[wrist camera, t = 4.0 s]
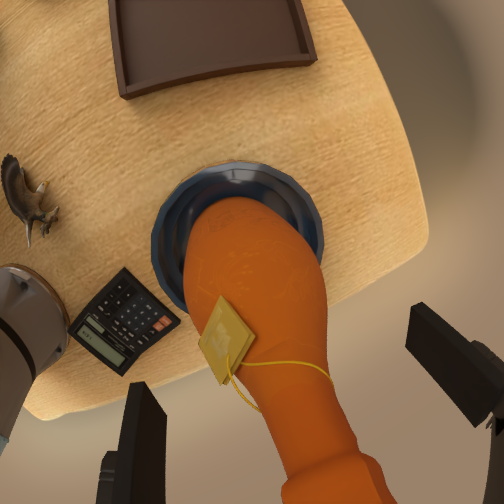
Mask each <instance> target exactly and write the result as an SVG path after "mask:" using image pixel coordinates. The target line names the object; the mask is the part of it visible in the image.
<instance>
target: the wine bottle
mask: <svg viewBox="0 0 504 504" xmlns="http://www.w3.org/2000/svg"><path fill="white" fill-rule="evenodd" d="M183 288H184V296H185V301H186V305H187V309H188V312H189V314H190V317H191V319H192V321H193V323H194V325H195V327H196V329H197V331H198V333H199V334H200V336H201V338H200V340H199V343H198V344H199V346H200V348H201V350H202V352H203V354H204V356H205V358H206V360H207V362H208V364H209V365H210V367H211V369H212V371H213V373H214V375H215V377H216V379H217V380H218V382H219V384H220V385H222V384H224V385H227V384H228V382H229V381H230V379H231V381H232V383H233V385H234V387H235V389H236V390H237V391H238V393H239V394H240V396H241V397H242V398H243V399H244V400H245V401H246V402H247V403H248V404H249V405H251V406H252V407H253V408H255V409H256V410H257V411H259V412H260V413H262V415H263V417H264V419H265V421H266V424H267V426H268V429H269V431H270V433H271V436H272V438H273V441H274V443H275V445H276V448H277V450H278V453H279V455H280V458H281V460H282V463H283V466H284V469H285V471H286V475H287V478H288V480H287V481H286V482H285V483H284V485H283V486H282V490H281V497H282V502H283V504H397V502H396V501H395V499H394V498H393V496H392V495H391V493H390V491H389V489H388V488H387V485H386V482H385V478H384V475H383V471H382V468H381V466H380V465H379V464H378V462H377V461H376V460H375V459H374V458H373V457H371V456H368V455H366V454H364V453H361V452H360V451H359V448H358V445H357V438H356V436H355V434H354V433H353V431H352V429H351V427H350V425H349V423H348V421H347V419H346V416H345V414H344V412H343V410H342V408H341V406H340V404H339V402H338V400H337V397H336V394H335V389H334V385H333V382H332V380H331V378H330V374H329V369H328V362H327V295H326V288H325V283H324V279H323V275H322V271H321V268H320V265H319V263H318V260H317V258H316V256H315V254H314V252H313V251H312V249H311V247H310V246H309V245H308V243H307V242H306V241H305V239H304V238H303V237H302V236H301V235H300V234H299V233H298V232H297V231H296V230H295V229H294V228H293V227H292V226H291V225H290V224H289V223H288V222H287V221H285V220H284V219H283V218H282V217H281V216H279V215H278V214H277V213H275V212H274V211H273V210H271V209H270V208H269V207H267V206H266V205H264V204H262V203H261V202H259V201H257V200H254V199H251V198H248V197H242V196H232V197H226V198H222V199H220V200H217V201H215V202H213V203H212V204H210V205H209V206H208V207H206V208H205V209H204V210H203V211H202V212H201V213H200V215H199V216H198V217H197V219H196V221H195V223H194V225H193V227H192V230H191V233H190V237H189V241H188V246H187V251H186V257H185V264H184V275H183ZM233 374H234V375H235V376H236V377H237V378H238V379H239V380H240V382H241V383H242V384H243V385H244V386H245V387H246V388H247V390H248V391H249V393H250V395H251V396H252V397H253V398H254V400H255V402H256V403H257V405H258V407H259V409H258V408H257V407H255V406H254V405H253V404H252V403H250V402H249V401H248V400H247V399H246V398H245V397H244V395H243V394H242V393H241V392H240V391H239V389H238V387H237V386H236V384H235V382H234V380H233V378H232V376H233Z"/></svg>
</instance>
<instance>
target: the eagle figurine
mask: <svg viewBox="0 0 504 504" xmlns="http://www.w3.org/2000/svg"><path fill="white" fill-rule="evenodd" d="M1 181H2V186H3V190H4V192H5V196H6V199H7V201H8V204H9V206H10V208H11V210H12V212H13V213H14V214H15V215H16V216H18V217H19V218H20V220H21V221H22V222H23V223H25V228H26V233H27V240H28V246H29V248H30V247H31V230H32V225H33V221H34V220H39V221H42V222H45V223H44V224H43V225H42V226H41V228H40V230H41V234H42V237H43V238H44V231H45V230H46V234H49V229H50V227H51V225H52V223H53V222H56V221H58V219H57V218H56V215H57V213H58V210H59V207H58V206H56V207H55V208H54V210H53V211H52V212H49V213H47V212H45V211H42V210H41V209H40V205H41V203H42V199H43V194H44V191H45V189H46V186H47V185H48V183H49V181H46V182H43V183H42V184H40V186H39V187H38V189H37V190H36V192H35V193H32V192H30V191H29V190H28V188H27V187H26V184H25V181H24V170H23V167H22V168H20V166H19V163H18V160H17V158H16V157H13V156H12V155H9V153H8V154H7V156H6V157H4V160H3V161H2V165H1ZM46 228H47V229H46Z"/></svg>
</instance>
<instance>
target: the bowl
mask: <svg viewBox="0 0 504 504" xmlns="http://www.w3.org/2000/svg"><path fill="white" fill-rule="evenodd" d="M232 196H242V197H248V198H251V199H254V200H257V201H259V202H261V203H262V204H264V205H266V206H267V207H269V208H270V209H271V210H273V211H274V212H275V213H277V214H278V215H279V216H281V217H282V218H283V219H284V220H285V221H287V222H288V223H289V224H290V225H291V226H292V227H293V228H294V229H295V230H296V231H297V232H298V233H299V234H300V235H301V236H302V237H303V238H304V239H305V241H306V242H307V243H308V245H309V246H310V247H311V249H312V251H313V252H314V254H315V256H316V258H317V260H318V263H319V265H320V264H321V259H322V254H323V249H324V236H323V228H322V220H321V217H320V215H319V213H318V211H317V209H316V207H315V204H314V202H313V200H312V198H311V196H310V195H309V194H308V193H307V192H306V191H305V190H304V189H303V188H302V187H301V186H300V185H299V184H298V183H297V182H296V181H295V180H294V179H293V178H292V177H291V176H289V175H287V174H285V173H283V172H281V171H279V170H276V169H274V168H272V167H270V166H268V165H266V164H262V163H257V162H250V161H241V160H226V161H222V162H217V163H213V164H209V165H205V166H203V167H202V168H200V169H198V170H197V171H195V172H193V173H192V174H190V175H189V176H187V177H185V178H184V179H183V180H182V181H181V182H180V183H179V184H178V186H177V187H176V188H175V189H174V190H173V192H172V193H171V194H170V195H169V197H168V198H167V199H166V200H165V202H164V203H163V205H162V206H161V208H160V210H159V213H158V216H157V219H156V221H155V224H154V227H153V230H152V233H151V262H152V265H153V268H154V271H155V274H156V277H157V279H158V282H159V285H160V287H161V288H162V289H163V290H164V292H165V293H166V294H167V295H168V297H169V298H170V299H171V300H172V302H173V303H174V304H175V305H176V306H177V307H178V308H180V309H181V310H183V311H184V312H186V313H187V314H189V312H188V309H187V305H186V301H185V296H184V288H183V275H184V264H185V257H186V251H187V246H188V241H189V237H190V233H191V230H192V227H193V225H194V223H195V221H196V219H197V217H198V216H199V215H200V213H201V212H202V211H203V210H204V209H205V208H206V207H208V206H209V205H210V204H212V203H213V202H215V201H217V200H220V199H222V198H226V197H232ZM189 315H190V314H189Z"/></svg>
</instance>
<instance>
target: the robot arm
mask: <svg viewBox="0 0 504 504" xmlns="http://www.w3.org/2000/svg"><path fill="white" fill-rule="evenodd" d="M69 327H70V323H69V319H68V315H67V313H66V310H65V308H64V306H63V304H62V302H61V300H60V299H59V297H58V295H57V294H56V293H55V291H54V290H53V289H52V287H51V286H50V285H49V284H48V283H47V282H46V281H45V280H44V279H43V278H42V277H41V276H40V275H38V274H37V273H36V272H34V271H32V270H31V269H29V268H27V267H25V266H22V265H19V264H6V265H3V266H1V267H0V456H1V454H2V452H3V449H4V448H5V446H6V444H7V443H8V442H9V437H10V434H11V431H12V428H13V426H14V424H15V421H16V419H17V417H18V414H19V412H20V409H21V407H22V405H23V403H24V401H25V398H26V396H27V394H28V392H29V390H30V388H31V386H32V384H33V382H34V380H35V378H36V377H37V376H38V375H39V374H41V373H42V372H43V371H45V370H46V369H47V368H48V367H50V366H51V365H52V364H54V363H55V362H56V361H58V360H59V359H60V357H61V356H62V355H63V354H64V352H65V350H66V348H67V346H68V344H69V341H70V334H69V333H67V332H66V331H67V329H68V328H69ZM405 347H406V348H407V350H408V351H409V352H411V354H412V355H413V356H414V357H415V358H416V359H417V361H418V362H419V363H420V364H421V365H422V366H423V367H424V368H425V370H426V371H427V372H428V373H429V374H430V375H431V376H432V377H433V379H434V380H435V381H436V382H437V383H438V384H439V386H440V387H441V388H442V389H443V390H444V391H445V393H446V394H447V395H448V396H449V397H450V398H451V400H452V401H453V402H454V403H455V404H456V406H458V408H459V409H460V410H461V411H462V413H463V414H464V415H465V416H466V418H467V419H468V420H469V421H470V422H471V424H472V425H473V426H474V427H475V428H476V427H477V426H478V425H479V424H480V423H482V422H483V421H484V420H485V419H486V418H487V417H488V415H489V413H490V412H492V413H493V416H492V417H491V419H490V420H489V422H488V423H487V424H486V429H487V428H488V427H489V425H490V424H491V423H492V425H491V427H490V428H492V432H491V449H490V461H489V470H488V476H487V483H486V489H485V495H484V500H483V504H504V362H503V361H502V360H501V359H500V358H499V357H498V356H496V355H495V354H494V353H493V352H492V351H490V349H489V348H488V347H486V346H485V345H484V344H483V343H480V342H478V341H476V340H474V341H472V342H471V343H470V342H469V341H468V340H467V339H466V338H464V337H463V336H462V335H461V334H460V333H459V332H458V331H456V330H455V329H454V328H453V327H452V326H450V325H449V324H448V323H447V322H446V321H445V320H443V319H442V318H441V317H440V316H439V315H438V314H436V313H435V312H434V311H433V310H432V309H430V308H429V307H428V306H427V305H426V304H424V303H423V302H420V303H418V304H416V305H413V306H411V311H410V319H409V325H408V332H407V339H406V344H405ZM166 429H167V415H166V413H165V412H164V411H163V409H162V408H161V406H160V405H159V403H158V402H157V400H156V399H155V397H154V396H153V394H152V392H151V391H150V389H149V388H148V386H147V385H146V383H145V381H143V382H135V383H130V386H129V390H128V395H127V401H126V405H125V410H124V416H123V421H122V427H121V433H120V438H119V445H118V451H107V453H106V454H105V456H104V458H103V459H102V463H101V470H100V471H101V473H100V476H99V479H100V480H99V482H98V490H97V497H96V504H166V502H165V462H166V460H165V458H166Z"/></svg>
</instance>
